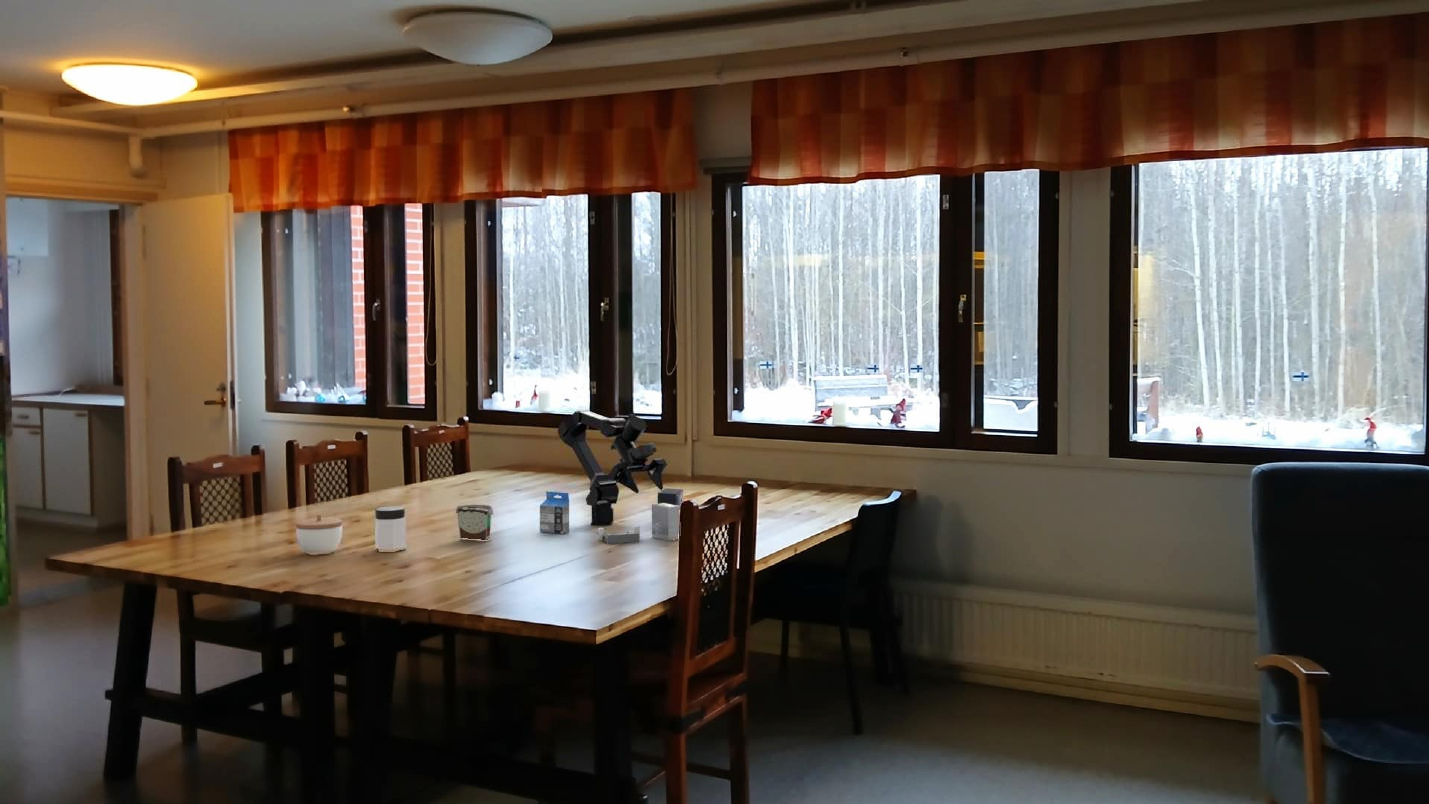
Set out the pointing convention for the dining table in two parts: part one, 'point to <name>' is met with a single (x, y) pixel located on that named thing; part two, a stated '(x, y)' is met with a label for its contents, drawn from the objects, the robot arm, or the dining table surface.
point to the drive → (665, 521)
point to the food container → (474, 521)
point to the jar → (390, 527)
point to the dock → (619, 536)
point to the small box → (670, 496)
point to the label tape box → (555, 513)
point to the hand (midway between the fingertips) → (650, 490)
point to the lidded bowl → (319, 533)
